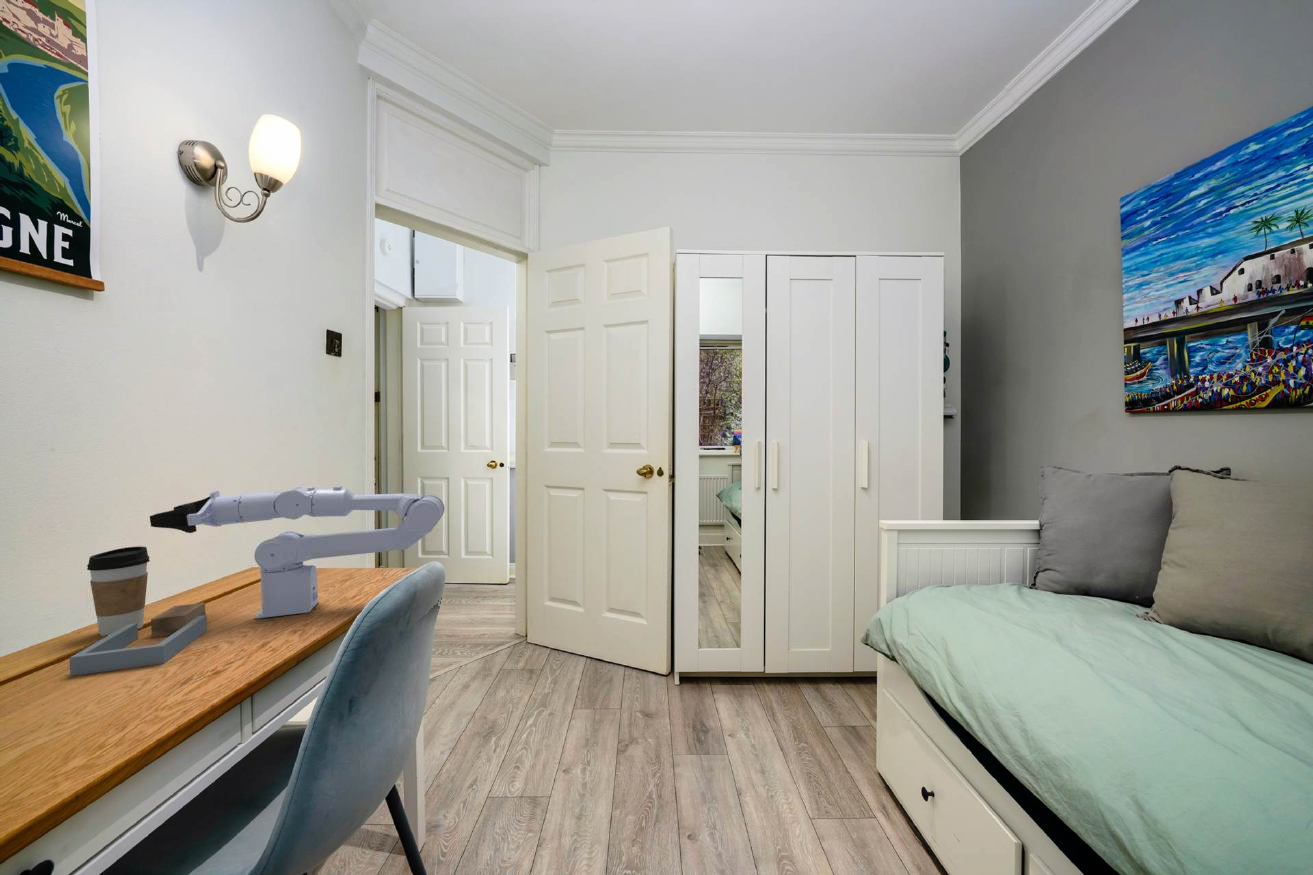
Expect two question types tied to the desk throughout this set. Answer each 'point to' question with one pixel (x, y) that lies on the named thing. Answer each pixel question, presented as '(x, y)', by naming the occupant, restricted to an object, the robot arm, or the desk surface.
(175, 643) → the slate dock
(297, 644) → the desk surface
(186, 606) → the walnut block
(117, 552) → the coffee cup
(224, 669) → the desk surface
